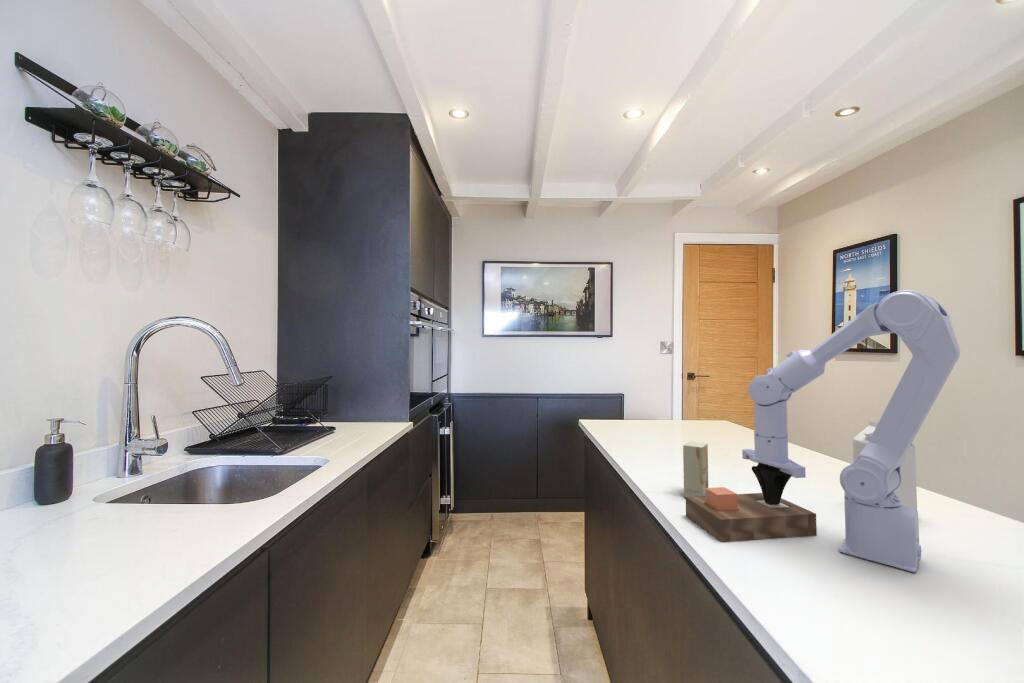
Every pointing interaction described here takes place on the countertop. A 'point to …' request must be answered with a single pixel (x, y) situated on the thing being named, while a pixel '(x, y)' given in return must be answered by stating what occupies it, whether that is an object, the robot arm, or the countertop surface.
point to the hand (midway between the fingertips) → (772, 504)
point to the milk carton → (908, 469)
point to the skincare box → (695, 469)
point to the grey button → (772, 505)
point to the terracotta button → (721, 499)
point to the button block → (752, 519)
